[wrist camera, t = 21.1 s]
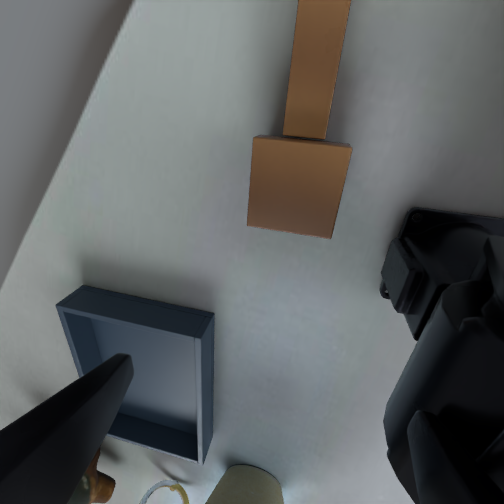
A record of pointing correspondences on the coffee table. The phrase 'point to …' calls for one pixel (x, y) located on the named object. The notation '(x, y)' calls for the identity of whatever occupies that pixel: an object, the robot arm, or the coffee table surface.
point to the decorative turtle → (93, 485)
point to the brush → (304, 134)
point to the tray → (149, 366)
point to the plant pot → (246, 487)
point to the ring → (173, 486)
